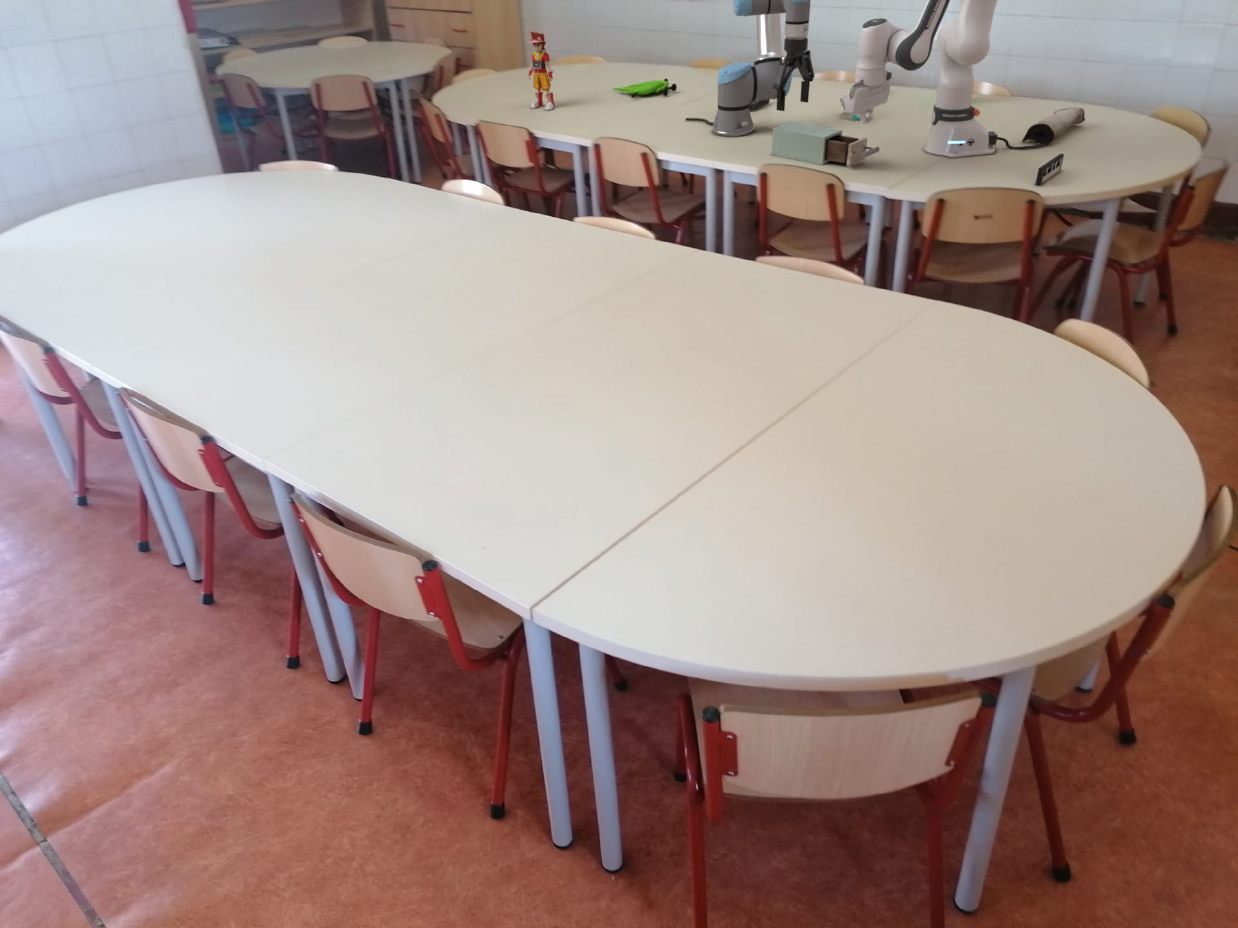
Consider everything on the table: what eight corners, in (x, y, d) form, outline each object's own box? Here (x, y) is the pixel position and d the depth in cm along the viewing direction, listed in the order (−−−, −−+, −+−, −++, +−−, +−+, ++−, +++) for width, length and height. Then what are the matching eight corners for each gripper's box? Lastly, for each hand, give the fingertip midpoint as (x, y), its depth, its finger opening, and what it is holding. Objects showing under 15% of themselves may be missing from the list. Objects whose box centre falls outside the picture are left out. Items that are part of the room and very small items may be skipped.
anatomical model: (835, 89, 346) (860, 82, 346) (837, 116, 352) (863, 109, 352) (846, 98, 334) (872, 91, 333) (848, 126, 340) (874, 119, 339)
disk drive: (754, 111, 359) (769, 102, 369) (754, 104, 357) (770, 95, 367) (731, 109, 364) (746, 100, 374) (731, 102, 362) (747, 93, 372)
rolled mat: (1051, 112, 323) (1076, 94, 315) (1065, 133, 323) (1091, 116, 315) (1017, 135, 306) (1043, 117, 298) (1032, 158, 306) (1058, 140, 298)
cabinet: (840, 157, 303) (842, 130, 298) (822, 164, 297) (824, 137, 292) (789, 147, 316) (791, 121, 311) (771, 154, 310) (772, 128, 305)
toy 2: (686, 85, 398) (631, 84, 414) (685, 72, 395) (629, 72, 411) (651, 104, 381) (596, 103, 397) (650, 92, 378) (594, 91, 394)
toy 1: (525, 109, 381) (517, 32, 364) (534, 104, 388) (527, 28, 371) (550, 110, 377) (543, 32, 360) (559, 105, 384) (553, 28, 367)
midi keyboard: (1039, 185, 269) (1043, 168, 266) (1035, 184, 270) (1038, 168, 267) (1060, 170, 279) (1064, 154, 277) (1056, 169, 280) (1060, 153, 277)
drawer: (879, 162, 293) (882, 140, 290) (864, 169, 288) (866, 147, 284) (815, 150, 308) (817, 129, 304) (799, 156, 303) (801, 135, 299)
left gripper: (782, 45, 280) (779, 115, 292) (828, 32, 294) (823, 100, 307) (763, 43, 285) (761, 112, 297) (808, 30, 299) (804, 97, 311)
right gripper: (860, 85, 270) (855, 132, 278) (895, 72, 282) (890, 118, 290) (842, 82, 274) (838, 129, 282) (877, 70, 286) (872, 115, 294)
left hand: (792, 106), depth 302 cm, fingers open, 13 cm apart
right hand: (864, 123), depth 286 cm, fingers closed
